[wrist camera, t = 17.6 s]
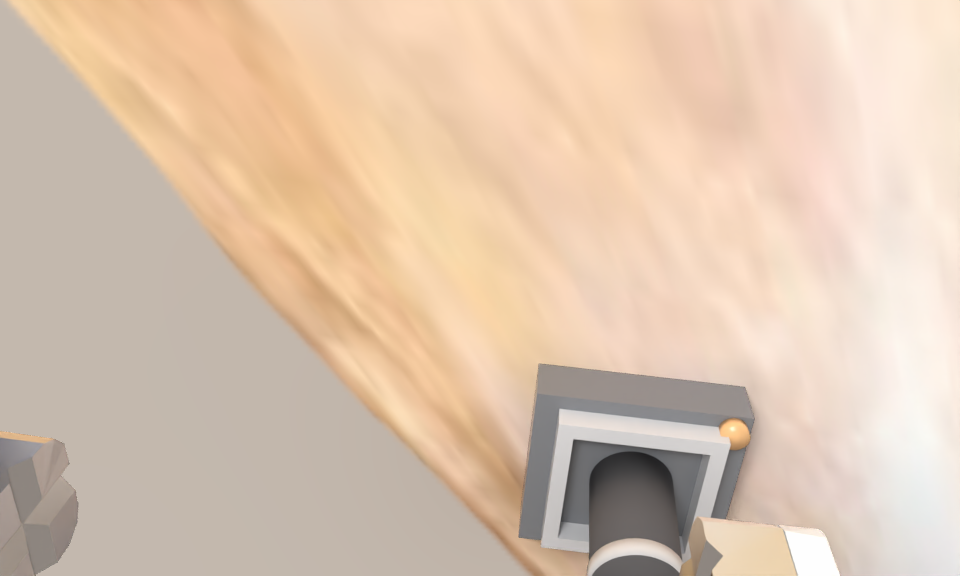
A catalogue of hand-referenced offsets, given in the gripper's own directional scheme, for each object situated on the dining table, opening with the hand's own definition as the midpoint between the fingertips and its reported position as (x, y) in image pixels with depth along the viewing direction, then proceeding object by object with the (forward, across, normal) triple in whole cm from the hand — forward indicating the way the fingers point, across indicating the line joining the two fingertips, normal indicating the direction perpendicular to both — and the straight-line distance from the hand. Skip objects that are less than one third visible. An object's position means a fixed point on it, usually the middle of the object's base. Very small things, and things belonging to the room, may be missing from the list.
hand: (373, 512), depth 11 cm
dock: (+33, +9, -25) cm, 42 cm away
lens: (+30, +9, -25) cm, 40 cm away
